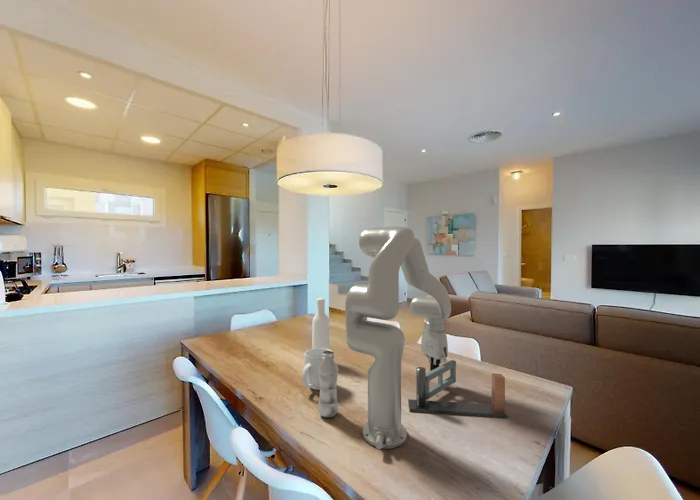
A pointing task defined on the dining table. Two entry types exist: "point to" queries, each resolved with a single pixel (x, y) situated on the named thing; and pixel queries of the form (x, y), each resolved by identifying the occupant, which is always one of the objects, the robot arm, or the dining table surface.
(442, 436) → the dining table surface
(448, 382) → the gate
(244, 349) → the dining table surface
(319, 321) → the bottle
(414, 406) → the gate frame
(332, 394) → the plastic bottle
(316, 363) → the mug
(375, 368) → the robot arm
